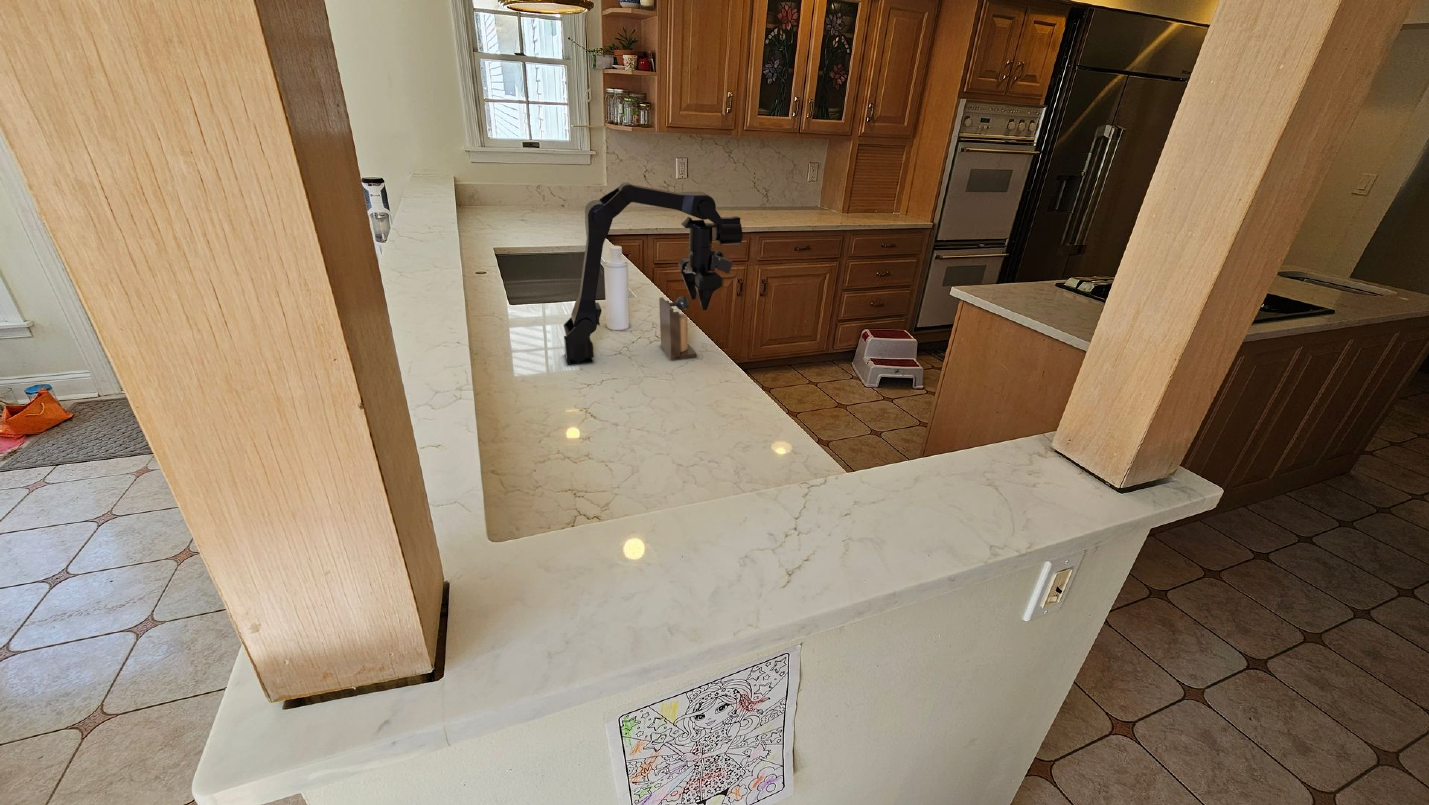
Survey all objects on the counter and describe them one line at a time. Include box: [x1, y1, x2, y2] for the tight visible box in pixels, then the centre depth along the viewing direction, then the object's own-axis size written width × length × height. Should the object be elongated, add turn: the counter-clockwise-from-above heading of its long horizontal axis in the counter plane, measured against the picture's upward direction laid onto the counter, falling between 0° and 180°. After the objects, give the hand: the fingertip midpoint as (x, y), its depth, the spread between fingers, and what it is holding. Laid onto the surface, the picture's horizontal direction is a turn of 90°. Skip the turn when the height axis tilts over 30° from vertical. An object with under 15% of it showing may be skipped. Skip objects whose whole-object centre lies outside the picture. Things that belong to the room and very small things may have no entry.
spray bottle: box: [603, 245, 630, 331], centre depth 175 cm, size 7×7×25 cm
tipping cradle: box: [658, 295, 697, 361], centre depth 161 cm, size 15×10×7 cm
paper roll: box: [679, 313, 689, 352], centre depth 162 cm, size 9×5×5 cm
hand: (698, 304), depth 161 cm, fingers open, 9 cm apart
